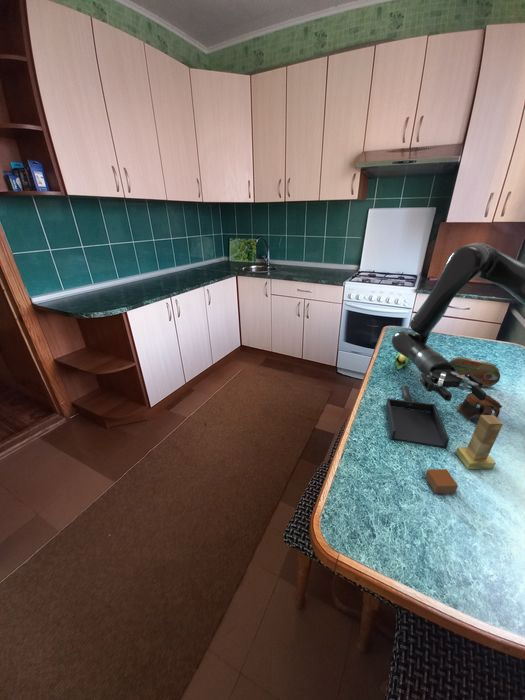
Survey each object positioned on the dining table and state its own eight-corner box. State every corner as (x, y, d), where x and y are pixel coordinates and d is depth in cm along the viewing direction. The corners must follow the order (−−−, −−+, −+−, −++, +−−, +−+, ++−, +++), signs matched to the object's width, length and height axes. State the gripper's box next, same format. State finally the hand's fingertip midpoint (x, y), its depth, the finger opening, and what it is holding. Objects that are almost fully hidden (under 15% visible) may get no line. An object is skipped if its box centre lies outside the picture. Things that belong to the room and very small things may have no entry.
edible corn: (415, 351, 122) (418, 342, 120) (404, 372, 108) (407, 361, 106) (402, 348, 125) (404, 339, 123) (390, 368, 110) (392, 357, 108)
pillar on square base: (478, 452, 73) (497, 411, 67) (492, 468, 69) (513, 426, 63) (455, 452, 73) (471, 412, 67) (467, 469, 69) (486, 427, 63)
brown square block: (443, 476, 67) (446, 469, 66) (455, 493, 63) (458, 485, 62) (424, 476, 67) (427, 469, 66) (434, 493, 63) (437, 486, 62)
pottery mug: (450, 403, 92) (469, 383, 89) (478, 421, 90) (498, 401, 87) (463, 419, 80) (485, 396, 78) (495, 439, 79) (519, 417, 76)
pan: (446, 448, 75) (449, 439, 73) (391, 439, 78) (393, 430, 76) (424, 393, 96) (426, 385, 94) (382, 388, 99) (383, 380, 97)
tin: (443, 377, 104) (450, 356, 100) (444, 373, 107) (451, 353, 103) (495, 390, 97) (504, 368, 93) (494, 386, 99) (503, 364, 95)
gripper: (411, 355, 86) (442, 386, 71) (460, 354, 86) (500, 385, 71) (406, 376, 89) (434, 410, 75) (453, 375, 89) (490, 409, 74)
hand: (466, 398), depth 73 cm, fingers open, 8 cm apart
